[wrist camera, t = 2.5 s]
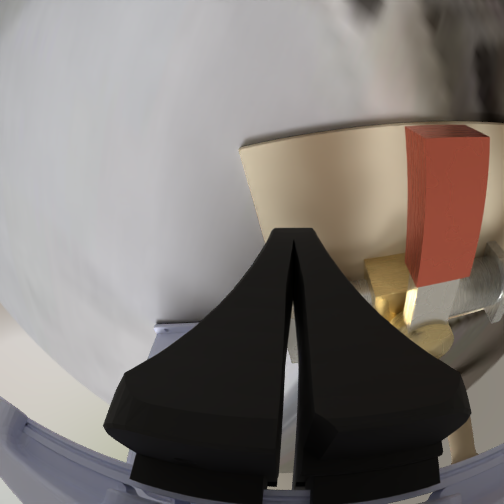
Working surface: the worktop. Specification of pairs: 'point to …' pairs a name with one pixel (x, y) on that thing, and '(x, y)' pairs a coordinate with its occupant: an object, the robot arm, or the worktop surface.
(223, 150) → the worktop surface
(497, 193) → the board
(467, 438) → the handle
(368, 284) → the valve
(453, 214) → the lever
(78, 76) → the worktop surface
